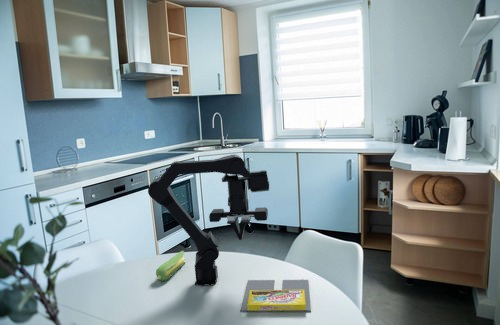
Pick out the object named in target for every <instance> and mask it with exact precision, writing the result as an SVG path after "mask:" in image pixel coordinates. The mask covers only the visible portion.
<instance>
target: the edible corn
mask: <svg viewBox="0 0 500 325" xmlns="http://www.w3.org/2000/svg"><path fill="white" fill-rule="evenodd" d="M184 254H185V251H184V250H181V251H179V252H178V253H176V255H173V257H171V258H170V259H168V260H167V261H165V262H164V263H163V264H161V265H159V266H158V268H157V269H156V273H155V276H156V278H157V280H158V281H161V282H165V281H168V279H170V278H171V277H172V275H174V274H175V273H176V272H177V271H178V270H179V269H180V268H181V267H182V266H184V264H186V261H185V258H184Z"/></svg>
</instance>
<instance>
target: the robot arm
mask: <svg viewBox="0 0 500 325" xmlns="http://www.w3.org/2000/svg"><path fill="white" fill-rule="evenodd" d="M206 173H219V174H224V175H223V176H222V177H221V182H222V183H227V192H228V197H227V206H228V207H229V211H225V210H224V208H214V209H212V210H211V211H210V213H209V214H208V215H209V216H208V218H209V219H208V220H209V222H210V223H218V222H220V221H221V220H222V219H224V218H226V219H227V220H226V224H227V225H230V226H231V228H232V229H233V231H234V233H235V235H236V237H237V238H238V240H239V241H242V240H243V236H244V232H245V227H246V225H247V224H250V222H251V220H252V218H254V220H255V221H258V222H259V221H261V222H262V221H267V220H268V218H269V217H268V216H269V211H268V208H267V207H265V206H264V207H255V208H254V210H249V199H248V198H247V190H250V192H251V193H260V192H269V190H270V181H269V178H268V177H269V176H268V172H267V170H258V171H250V169H249V168H247V167H246V165H245V161H244V159H243V158H242V157H241V156H240V155H238V154H236V153H235V154H230V155H225V156H222V157H219V158H215V159H202V160H200V159H199V160H188V161H178V160H176V161H173V162H171V164H170V166H169V167H168V168H167V169H166V171H165V172H163V174H162V175H161V176H160V177H156V178H154V179H153V180H152V181H151V183H150V184H149V185H148V187H147V188H148V189H147V193H148V195H149V197H150V198H152V199H153V201H155V202H156V203H157V204H158V205H160V206H161V207H163V208H165V209H166V210H167V212H169V213H170V214H171V216H172V217H173V218H174V219H175V221H176V222H177V223H178V224H179V225H180V227H181V228H182V229H183V230H184V231H185V232H186V234H187V235H188V236H189V237H190V238H191V240H192V241H193V243H194V244H195V247H196V249H197V251H196V253H195V260H194V261H195V264H194V271H195V272H194V273H195V282H194V285H195V286H215V284H216V282H217V280H218V278H219V272H218V266H217V265H216V260H217V259H218V257H219V255H220V251H219V244H218V243H219V241H218V239H217V238H216V237H215V236H214V234H213V233H212V231H211V230H210V231H209V232H208V233H207V232H205V231H203V230H202V229H201V227H200V226H199V224H198V223H197V222H196V221H195V220H194V218H192V216H191V215H190V214H189V213H188V212H187V210H186V209H185V208H184V206H182V205H181V203H180V202H179V200H178V199H177V198H176V196H175V194H174V192H173V189H172V187H171V185H172V184H173V182H174V181H175V180H176V179H177V178H178V177H179V176H180V175H193V174H206ZM239 175H240V176H239ZM246 188H247V189H246ZM239 218H241V220H240V221H239Z"/></svg>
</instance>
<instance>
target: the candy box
mask: <svg viewBox="0 0 500 325" xmlns="http://www.w3.org/2000/svg"><path fill="white" fill-rule="evenodd" d="M247 310H248V311H247V312H268V311H267V310H272V311H281V310H306V303H305V291H304V290H282V289H274V290H250V294H249V299H248V304H247ZM249 310H251V311H249Z"/></svg>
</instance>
